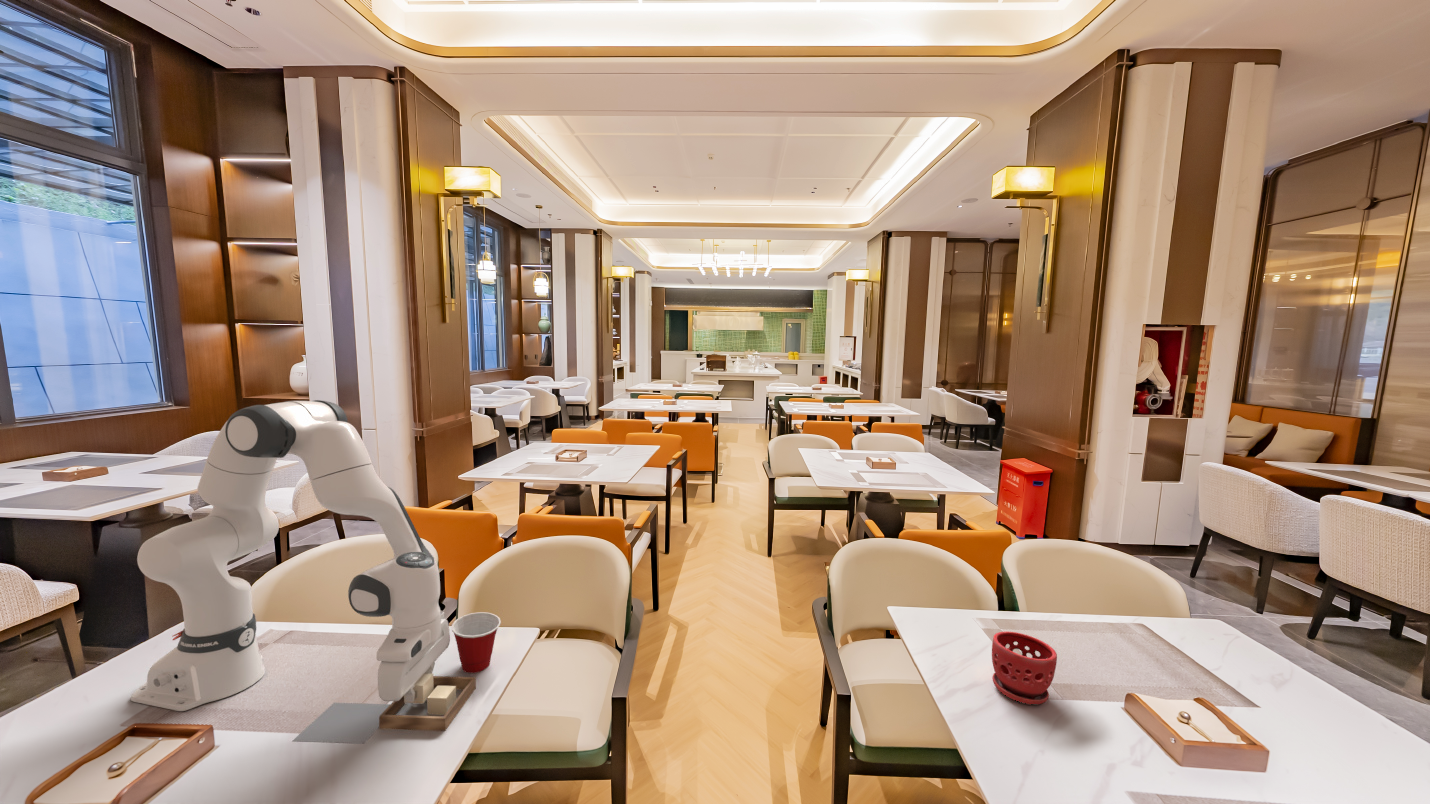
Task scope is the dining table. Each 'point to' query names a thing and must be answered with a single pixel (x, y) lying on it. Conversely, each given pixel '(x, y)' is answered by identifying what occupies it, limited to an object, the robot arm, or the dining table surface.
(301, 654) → the dining table surface
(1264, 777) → the dining table surface
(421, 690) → the cream wooden cube
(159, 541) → the robot arm
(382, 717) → the walnut bin
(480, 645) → the plastic cup
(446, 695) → the beige block
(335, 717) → the slate board
